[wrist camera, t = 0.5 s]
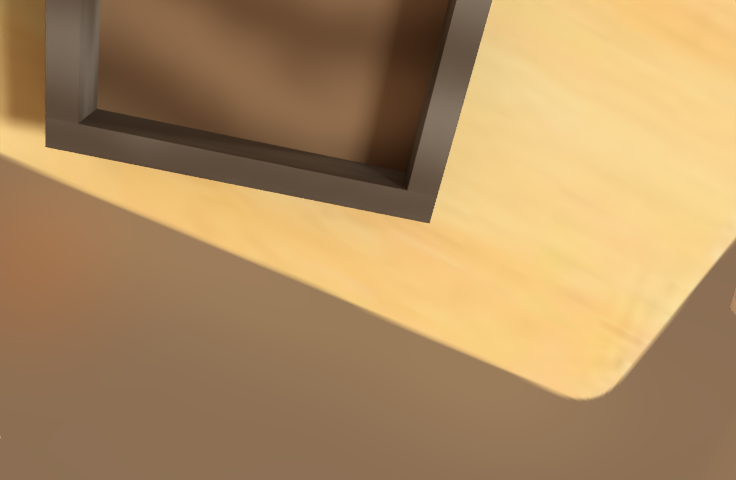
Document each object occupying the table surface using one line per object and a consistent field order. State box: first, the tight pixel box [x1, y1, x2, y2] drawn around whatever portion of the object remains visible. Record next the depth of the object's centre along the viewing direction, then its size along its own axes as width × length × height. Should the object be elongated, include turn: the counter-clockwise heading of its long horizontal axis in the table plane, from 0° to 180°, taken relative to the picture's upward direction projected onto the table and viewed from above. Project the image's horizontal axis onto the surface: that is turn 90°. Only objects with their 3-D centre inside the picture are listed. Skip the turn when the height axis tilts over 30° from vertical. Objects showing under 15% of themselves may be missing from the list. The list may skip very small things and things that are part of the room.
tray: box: [46, 0, 492, 223], centre depth 32 cm, size 17×19×4 cm
